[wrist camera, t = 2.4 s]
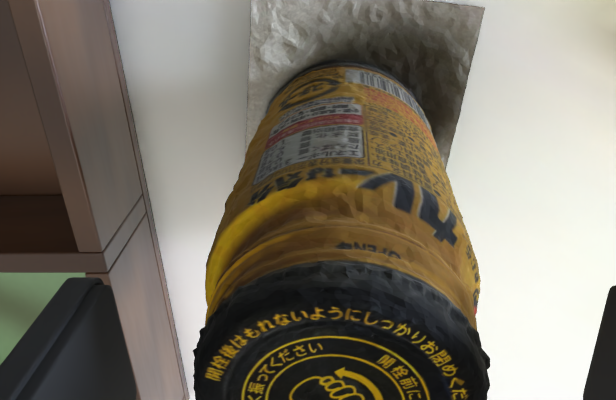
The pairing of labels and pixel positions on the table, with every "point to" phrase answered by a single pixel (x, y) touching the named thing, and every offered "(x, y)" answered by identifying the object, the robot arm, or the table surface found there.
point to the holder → (77, 184)
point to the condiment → (347, 212)
